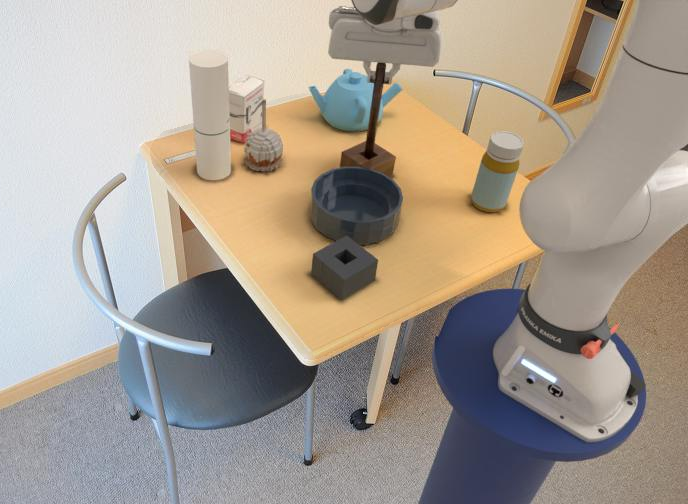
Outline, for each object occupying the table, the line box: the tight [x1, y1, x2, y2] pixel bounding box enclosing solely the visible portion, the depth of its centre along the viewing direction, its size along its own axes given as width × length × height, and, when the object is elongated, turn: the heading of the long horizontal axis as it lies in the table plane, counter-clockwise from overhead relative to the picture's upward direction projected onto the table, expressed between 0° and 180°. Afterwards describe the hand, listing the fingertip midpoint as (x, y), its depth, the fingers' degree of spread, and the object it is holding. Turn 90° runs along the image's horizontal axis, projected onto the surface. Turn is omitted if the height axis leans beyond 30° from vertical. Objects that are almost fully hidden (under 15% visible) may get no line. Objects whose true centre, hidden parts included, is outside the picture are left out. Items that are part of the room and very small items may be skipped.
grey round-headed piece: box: [244, 98, 284, 173], centre depth 135 cm, size 8×8×15 cm
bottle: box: [470, 130, 525, 214], centre depth 128 cm, size 7×7×15 cm
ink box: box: [229, 74, 265, 144], centre depth 145 cm, size 9×5×12 cm, turn 150°
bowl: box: [309, 166, 404, 245], centre depth 126 cm, size 17×17×6 cm
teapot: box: [308, 68, 404, 133], centre depth 151 cm, size 15×17×11 cm
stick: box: [364, 62, 387, 160], centre depth 129 cm, size 2×2×22 cm
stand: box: [310, 236, 379, 301], centre depth 114 cm, size 8×8×5 cm
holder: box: [339, 140, 397, 178], centre depth 137 cm, size 8×8×5 cm
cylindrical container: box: [188, 48, 232, 181], centre depth 129 cm, size 7×7×25 cm
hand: (379, 82), depth 124 cm, fingers closed on stick, 2 cm apart
